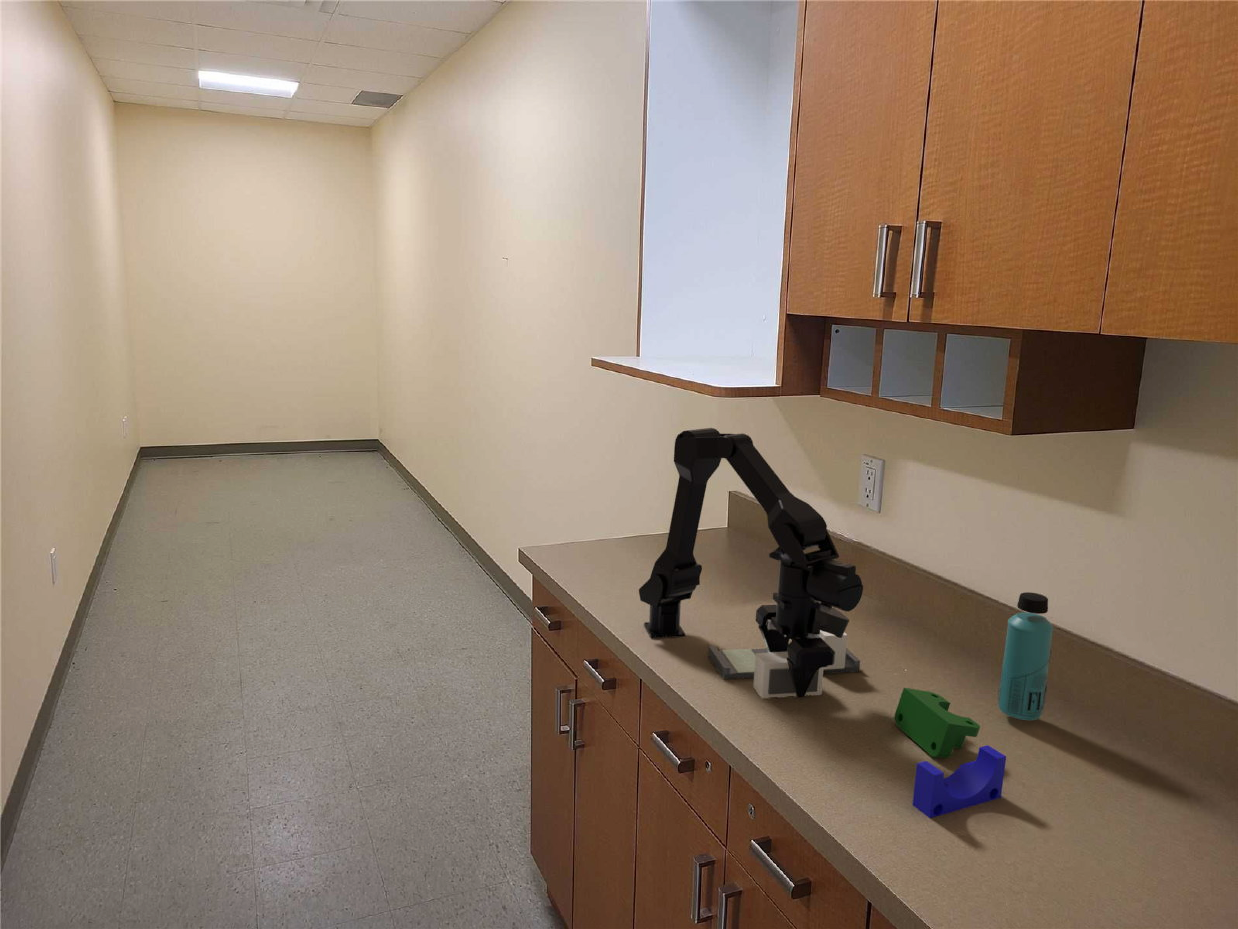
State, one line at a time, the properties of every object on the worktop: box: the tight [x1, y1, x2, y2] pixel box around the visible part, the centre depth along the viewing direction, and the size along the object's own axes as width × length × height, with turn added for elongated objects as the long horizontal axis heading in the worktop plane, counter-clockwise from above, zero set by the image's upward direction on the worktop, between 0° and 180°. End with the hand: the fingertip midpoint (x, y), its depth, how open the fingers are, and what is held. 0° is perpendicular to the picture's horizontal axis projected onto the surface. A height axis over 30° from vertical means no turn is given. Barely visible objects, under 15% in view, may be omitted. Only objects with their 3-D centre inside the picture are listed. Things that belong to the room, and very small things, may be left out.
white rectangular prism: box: [753, 652, 824, 699], centre depth 141 cm, size 4×10×6 cm, turn 101°
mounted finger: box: [808, 630, 848, 670], centre depth 152 cm, size 10×5×6 cm, turn 11°
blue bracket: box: [912, 744, 1007, 819], centre depth 113 cm, size 12×4×6 cm, turn 114°
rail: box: [707, 645, 861, 680], centre depth 152 cm, size 9×24×2 cm, turn 101°
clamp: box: [894, 687, 981, 759], centre depth 127 cm, size 12×6×9 cm, turn 9°
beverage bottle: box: [996, 591, 1054, 721], centre depth 133 cm, size 6×7×20 cm
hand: (789, 684), depth 141 cm, fingers open, 9 cm apart
